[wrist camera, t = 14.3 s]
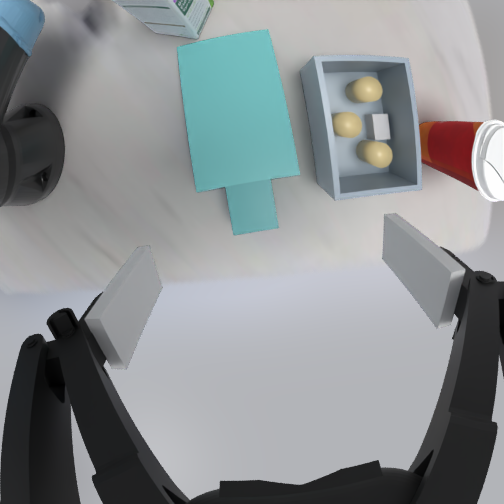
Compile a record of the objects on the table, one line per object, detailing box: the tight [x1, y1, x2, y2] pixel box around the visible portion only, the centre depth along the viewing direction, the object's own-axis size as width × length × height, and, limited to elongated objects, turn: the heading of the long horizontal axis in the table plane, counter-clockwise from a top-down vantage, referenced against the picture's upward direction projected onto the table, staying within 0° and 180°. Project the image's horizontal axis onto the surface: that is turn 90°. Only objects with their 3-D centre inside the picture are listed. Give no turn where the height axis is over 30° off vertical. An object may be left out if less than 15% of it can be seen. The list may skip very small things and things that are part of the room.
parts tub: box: [300, 55, 422, 201], centre depth 27 cm, size 14×10×8 cm
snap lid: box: [177, 29, 300, 235], centre depth 30 cm, size 23×11×6 cm, turn 10°
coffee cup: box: [419, 120, 504, 202], centre depth 24 cm, size 8×8×15 cm
